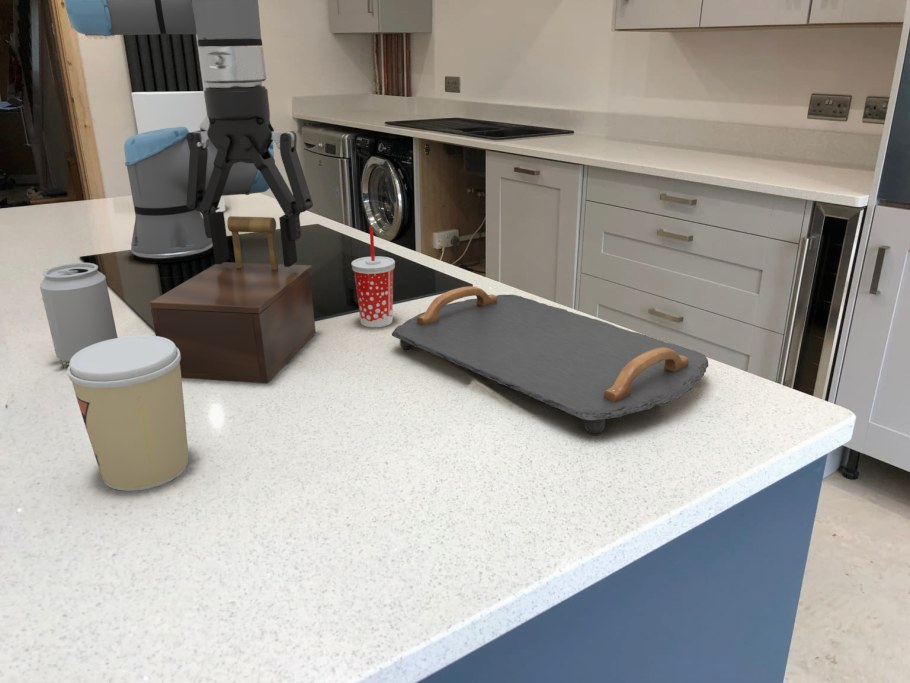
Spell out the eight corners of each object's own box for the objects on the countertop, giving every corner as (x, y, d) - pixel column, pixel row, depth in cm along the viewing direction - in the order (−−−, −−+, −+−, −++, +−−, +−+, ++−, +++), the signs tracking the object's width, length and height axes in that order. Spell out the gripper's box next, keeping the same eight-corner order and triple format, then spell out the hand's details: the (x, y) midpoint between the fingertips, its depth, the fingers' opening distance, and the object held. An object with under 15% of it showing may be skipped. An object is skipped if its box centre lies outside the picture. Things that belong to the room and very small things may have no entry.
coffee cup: (113, 446, 74) (89, 336, 69) (207, 441, 75) (190, 331, 70) (76, 499, 65) (46, 377, 61) (184, 493, 66) (162, 371, 61)
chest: (225, 328, 105) (216, 269, 101) (315, 333, 102) (310, 273, 99) (162, 376, 90) (150, 308, 86) (267, 383, 87) (259, 314, 84)
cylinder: (212, 218, 172) (195, 93, 162) (139, 219, 173) (117, 94, 162) (234, 204, 188) (219, 89, 178) (167, 204, 189) (149, 90, 178)
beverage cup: (374, 311, 110) (369, 220, 105) (406, 319, 107) (402, 225, 102) (346, 323, 106) (339, 228, 101) (378, 332, 103) (373, 234, 97)
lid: (219, 267, 102) (211, 211, 99) (312, 270, 100) (307, 214, 97) (150, 308, 86) (139, 243, 83) (259, 313, 84) (251, 247, 81)
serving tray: (375, 345, 98) (372, 301, 96) (498, 306, 112) (498, 267, 110) (610, 454, 71) (615, 397, 69) (732, 384, 85) (740, 335, 83)
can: (133, 349, 98) (116, 262, 93) (90, 371, 91) (70, 279, 87) (88, 342, 100) (70, 257, 96) (44, 364, 94) (22, 273, 89)
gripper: (136, 86, 88) (166, 267, 96) (309, 86, 84) (324, 273, 93) (169, 83, 95) (195, 252, 103) (330, 82, 91) (343, 258, 100)
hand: (256, 262), depth 98 cm, fingers open, 9 cm apart
